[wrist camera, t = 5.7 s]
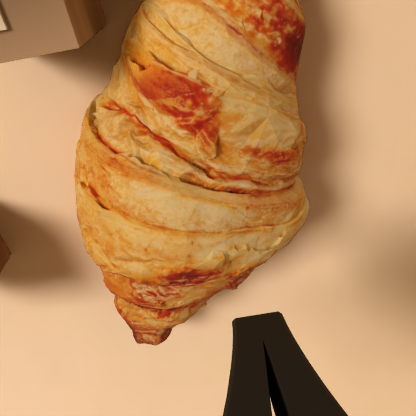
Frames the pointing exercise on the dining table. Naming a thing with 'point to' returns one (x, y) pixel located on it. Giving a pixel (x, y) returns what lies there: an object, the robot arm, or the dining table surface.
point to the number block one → (46, 26)
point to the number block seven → (3, 253)
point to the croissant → (193, 156)
